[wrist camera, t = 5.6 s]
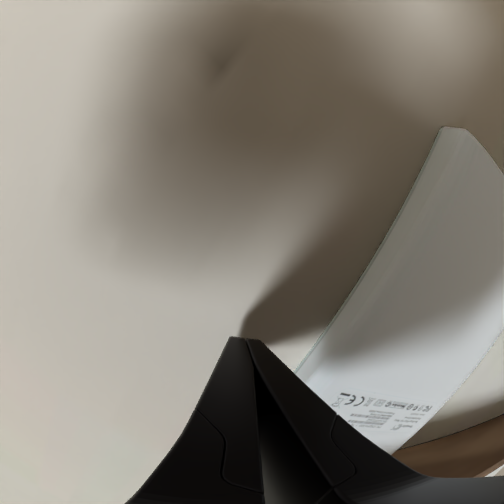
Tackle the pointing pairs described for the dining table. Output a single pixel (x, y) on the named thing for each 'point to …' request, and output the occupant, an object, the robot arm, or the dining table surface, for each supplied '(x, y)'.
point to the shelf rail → (459, 452)
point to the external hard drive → (420, 300)
